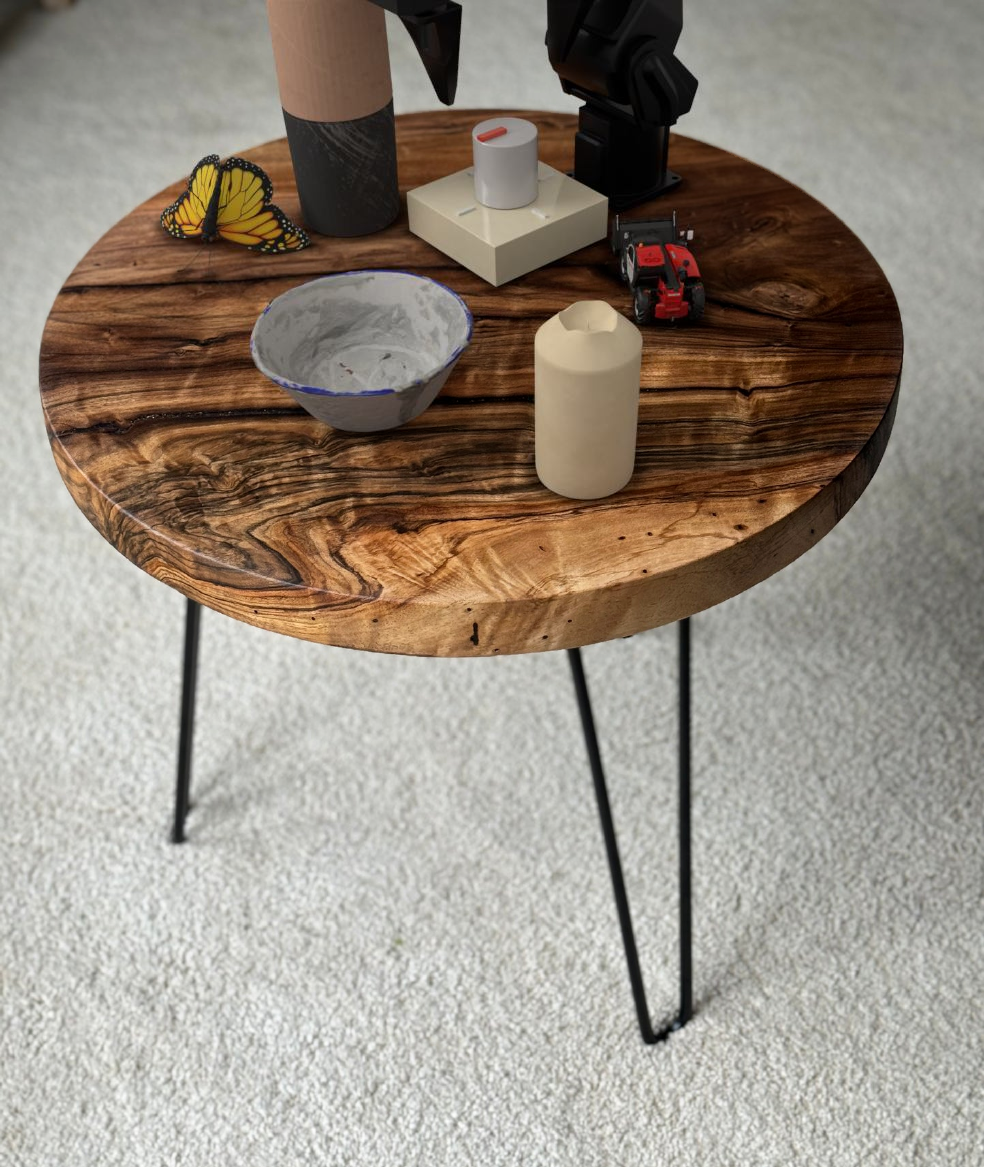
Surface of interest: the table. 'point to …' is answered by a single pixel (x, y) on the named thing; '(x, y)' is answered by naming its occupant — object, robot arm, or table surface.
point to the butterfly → (232, 208)
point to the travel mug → (337, 112)
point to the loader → (658, 268)
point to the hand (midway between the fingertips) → (503, 82)
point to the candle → (586, 400)
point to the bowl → (363, 346)
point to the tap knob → (505, 162)
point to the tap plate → (507, 223)
